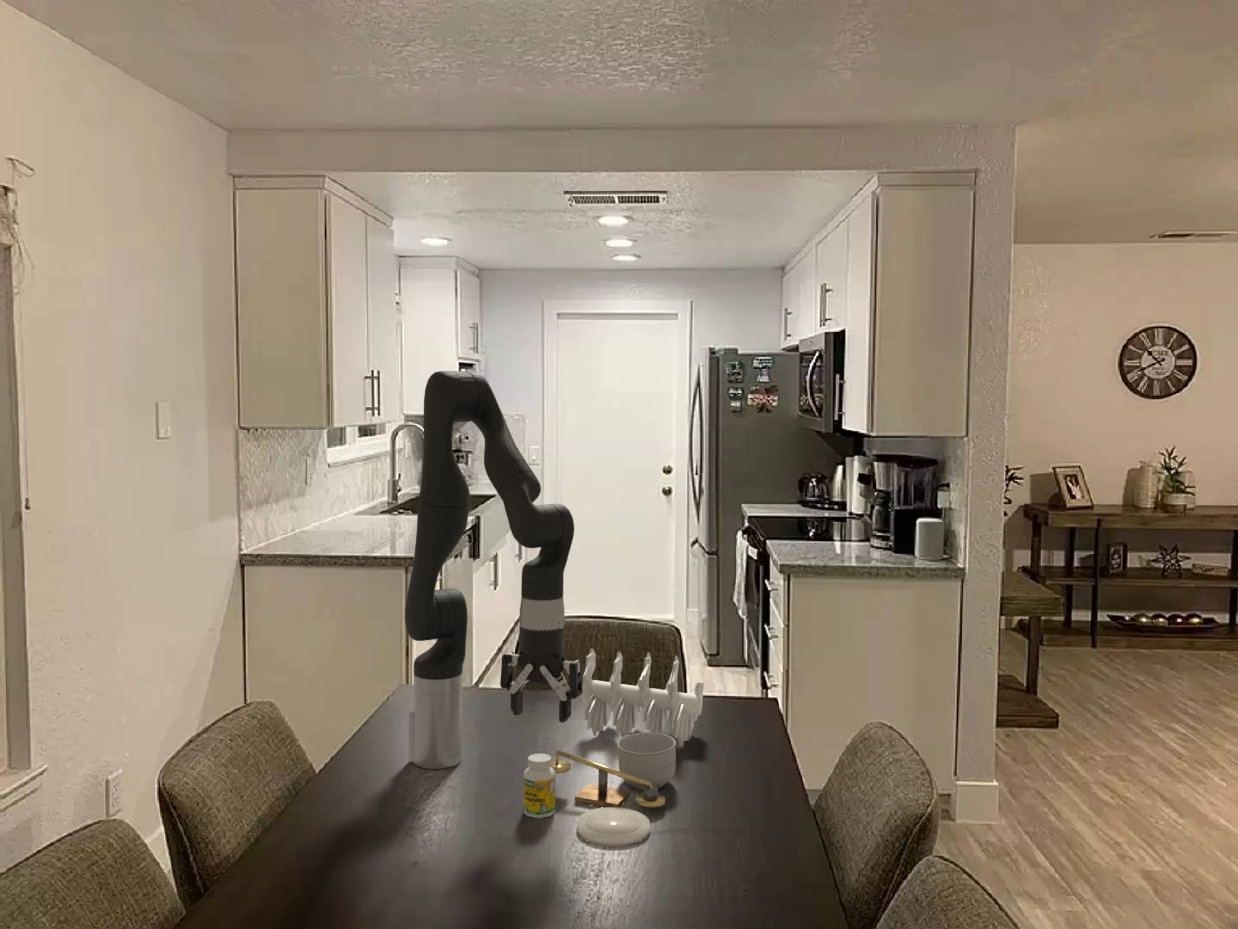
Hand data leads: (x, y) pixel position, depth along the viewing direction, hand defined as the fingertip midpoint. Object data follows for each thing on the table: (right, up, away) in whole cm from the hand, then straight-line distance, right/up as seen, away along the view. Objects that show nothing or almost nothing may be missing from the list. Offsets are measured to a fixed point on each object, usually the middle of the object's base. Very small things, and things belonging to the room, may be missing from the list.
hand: (540, 717), depth 169 cm
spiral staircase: (+18, -14, +39) cm, 45 cm away
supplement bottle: (0, -17, +1) cm, 17 cm away
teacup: (+18, -16, +16) cm, 29 cm away
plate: (+12, -17, -5) cm, 22 cm away
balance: (+10, -16, +7) cm, 20 cm away
